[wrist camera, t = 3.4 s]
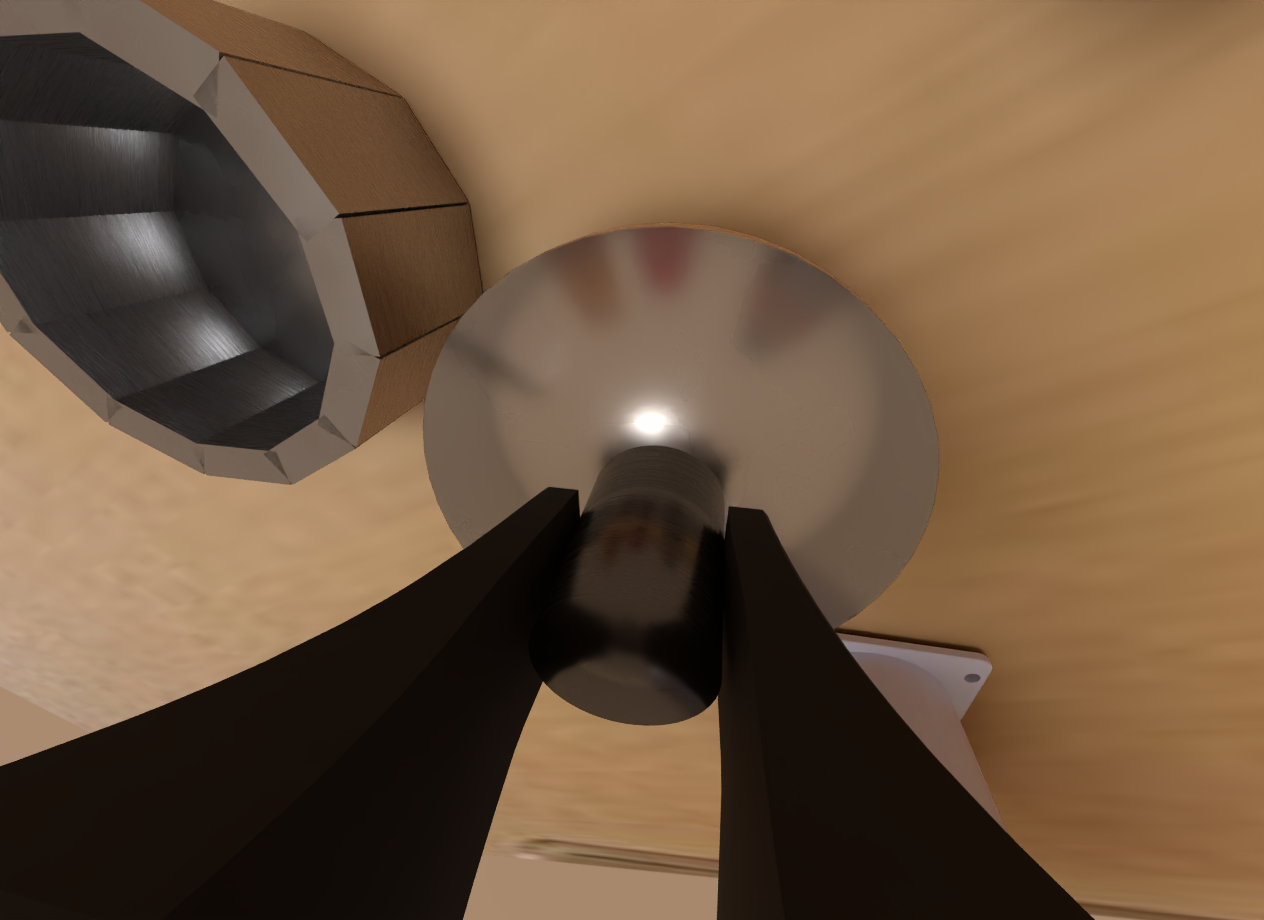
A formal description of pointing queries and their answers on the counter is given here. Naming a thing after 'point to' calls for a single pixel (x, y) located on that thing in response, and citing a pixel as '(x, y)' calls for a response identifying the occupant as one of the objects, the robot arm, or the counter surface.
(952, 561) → the counter surface
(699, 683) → the lid
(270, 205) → the saucepan
